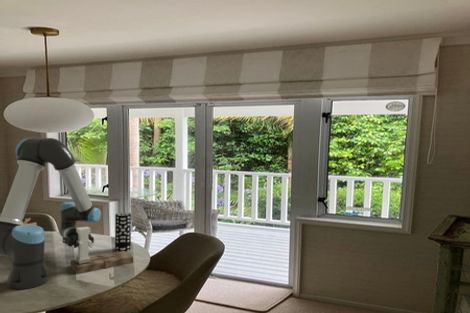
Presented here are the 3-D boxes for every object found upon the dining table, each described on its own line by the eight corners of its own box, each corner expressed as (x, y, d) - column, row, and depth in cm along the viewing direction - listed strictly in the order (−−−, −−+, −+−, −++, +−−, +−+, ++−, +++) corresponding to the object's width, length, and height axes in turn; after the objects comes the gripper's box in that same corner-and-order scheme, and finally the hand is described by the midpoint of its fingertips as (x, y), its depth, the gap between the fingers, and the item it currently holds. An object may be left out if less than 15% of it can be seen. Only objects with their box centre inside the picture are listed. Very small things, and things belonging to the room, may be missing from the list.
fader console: (77, 274, 156) (77, 266, 156) (70, 266, 166) (70, 259, 166) (133, 262, 172) (133, 256, 172) (123, 256, 182) (124, 250, 182)
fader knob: (79, 263, 160) (79, 230, 159) (75, 260, 164) (76, 227, 164) (90, 261, 163) (90, 228, 162) (86, 258, 167) (87, 226, 167)
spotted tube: (111, 250, 192) (112, 214, 192) (123, 246, 200) (123, 212, 199) (122, 252, 188) (123, 216, 188) (133, 249, 196) (134, 213, 195)
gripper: (90, 240, 183) (105, 250, 164) (55, 245, 172) (66, 257, 154) (90, 225, 182) (105, 235, 164) (55, 230, 172) (67, 240, 154)
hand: (86, 245), depth 159 cm, fingers closed on fader knob, 4 cm apart
